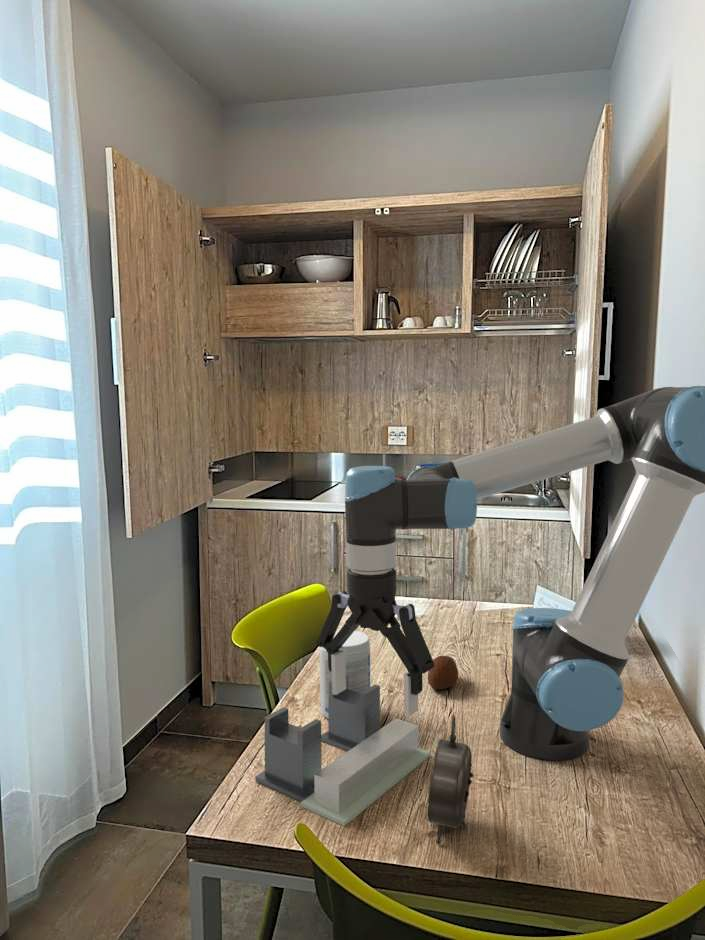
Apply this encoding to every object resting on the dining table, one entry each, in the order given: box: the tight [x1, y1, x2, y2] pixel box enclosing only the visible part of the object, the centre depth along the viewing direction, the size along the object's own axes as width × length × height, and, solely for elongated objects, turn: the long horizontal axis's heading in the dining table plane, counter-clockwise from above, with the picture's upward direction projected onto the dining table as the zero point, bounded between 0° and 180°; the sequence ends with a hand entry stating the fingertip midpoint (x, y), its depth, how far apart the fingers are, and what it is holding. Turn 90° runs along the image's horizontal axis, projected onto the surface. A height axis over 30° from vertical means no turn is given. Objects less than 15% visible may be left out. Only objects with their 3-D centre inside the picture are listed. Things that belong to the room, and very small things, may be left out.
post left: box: [254, 706, 322, 803], centre depth 109 cm, size 10×6×10 cm, turn 54°
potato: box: [427, 655, 459, 690], centre depth 146 cm, size 6×12×6 cm, turn 161°
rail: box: [314, 718, 420, 814], centre depth 111 cm, size 4×22×4 cm, turn 144°
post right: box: [321, 676, 381, 752], centre depth 122 cm, size 10×6×10 cm, turn 54°
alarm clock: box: [427, 714, 474, 845], centre depth 98 cm, size 11×5×16 cm, turn 164°
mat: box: [300, 747, 431, 827], centre depth 111 cm, size 8×24×1 cm, turn 144°
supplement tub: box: [318, 629, 371, 719], centre depth 133 cm, size 10×10×15 cm
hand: (373, 702), depth 109 cm, fingers open, 13 cm apart
